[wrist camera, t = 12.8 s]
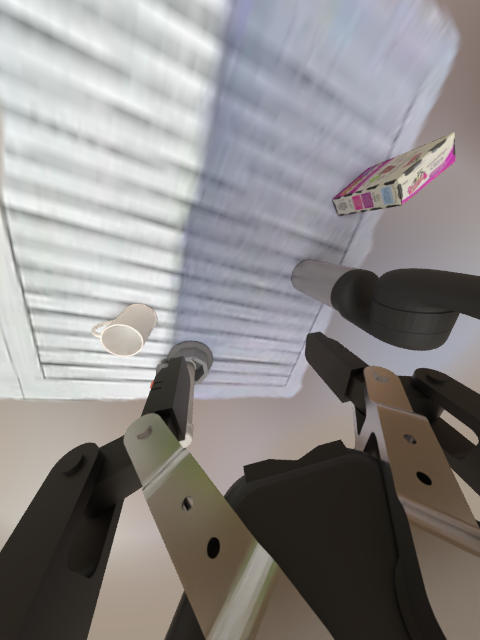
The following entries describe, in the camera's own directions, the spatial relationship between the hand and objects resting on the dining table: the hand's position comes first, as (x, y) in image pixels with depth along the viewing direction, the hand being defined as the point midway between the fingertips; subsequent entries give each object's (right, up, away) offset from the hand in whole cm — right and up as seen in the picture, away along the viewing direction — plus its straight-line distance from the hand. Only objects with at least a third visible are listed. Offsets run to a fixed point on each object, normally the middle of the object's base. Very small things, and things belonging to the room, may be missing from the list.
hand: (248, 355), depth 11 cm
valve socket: (-18, -11, +44) cm, 49 cm away
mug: (-29, +3, +35) cm, 46 cm away
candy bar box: (+29, +35, +33) cm, 56 cm away
